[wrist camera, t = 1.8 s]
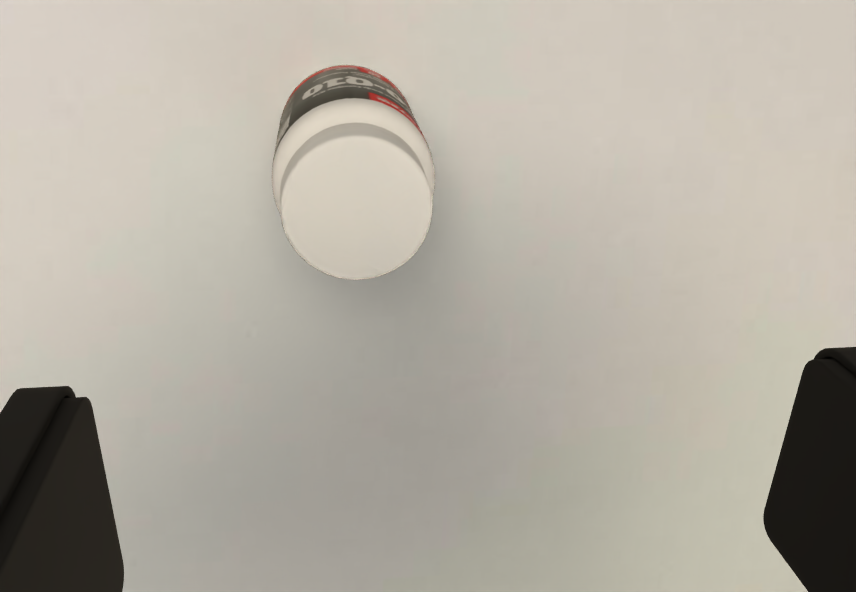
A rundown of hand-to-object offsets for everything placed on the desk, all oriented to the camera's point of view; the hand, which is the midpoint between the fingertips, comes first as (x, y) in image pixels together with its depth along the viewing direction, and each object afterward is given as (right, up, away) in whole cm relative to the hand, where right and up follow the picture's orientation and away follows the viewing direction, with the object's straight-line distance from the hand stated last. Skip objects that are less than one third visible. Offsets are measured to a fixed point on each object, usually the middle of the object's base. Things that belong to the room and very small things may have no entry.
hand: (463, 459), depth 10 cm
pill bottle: (-3, +8, +17) cm, 20 cm away
